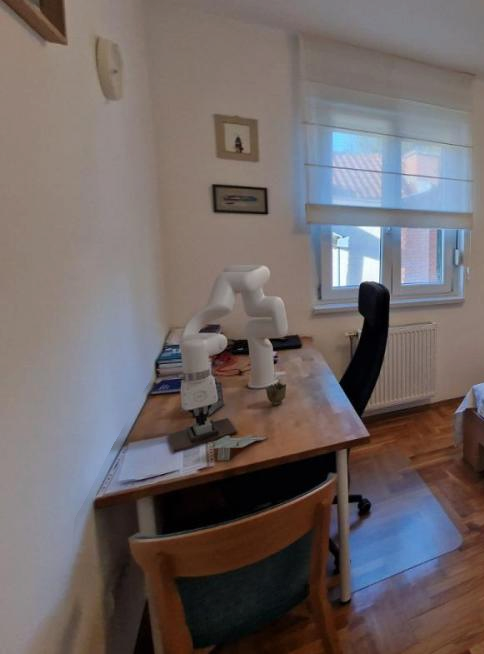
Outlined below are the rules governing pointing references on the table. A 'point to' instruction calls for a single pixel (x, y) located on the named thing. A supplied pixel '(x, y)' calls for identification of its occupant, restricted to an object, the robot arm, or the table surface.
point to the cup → (276, 393)
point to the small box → (220, 400)
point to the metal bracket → (231, 445)
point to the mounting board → (189, 439)
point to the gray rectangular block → (202, 427)
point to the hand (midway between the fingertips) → (201, 423)
